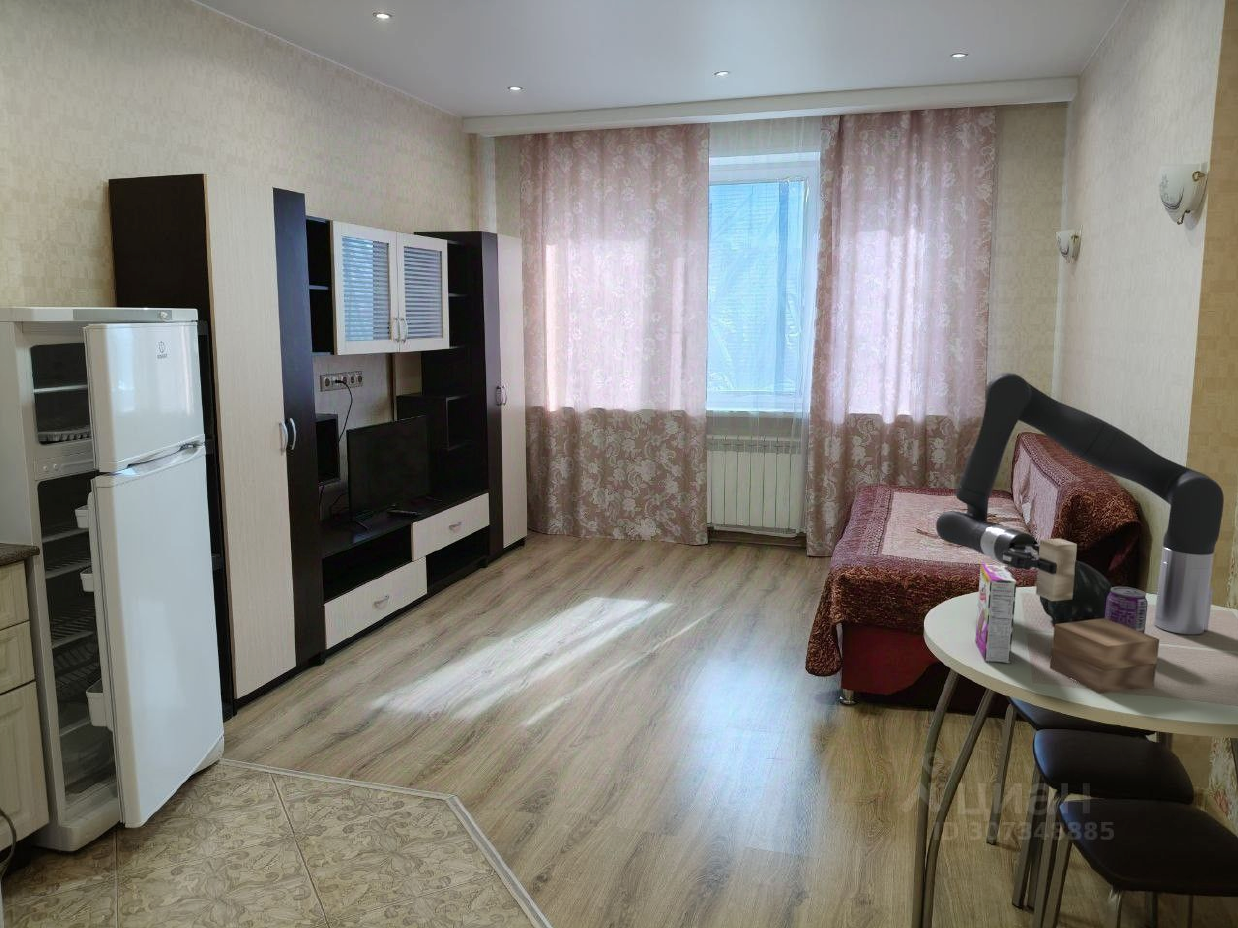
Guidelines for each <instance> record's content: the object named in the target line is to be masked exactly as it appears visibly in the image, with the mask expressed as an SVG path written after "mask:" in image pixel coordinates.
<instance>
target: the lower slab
mask: <svg viewBox="0 0 1238 928" xmlns="http://www.w3.org/2000/svg"><path fill="white" fill-rule="evenodd" d="M1049 664H1050V665H1049V669H1051V670H1053V671H1055V672H1056V673H1058V674H1060V673H1061V675H1062V674H1063V675H1062V676H1064V675H1065V676H1064V677H1066V676H1067V677H1066V678H1067V679H1070V678H1072V679H1074V680H1076V681H1077V682H1076V681H1075V682H1076V683H1078V682H1079V683H1080V685H1081V684H1082V685H1081V686H1083V685H1084V686H1083V687H1085V688H1087V689H1089V690H1091V691H1093V692H1095V693H1097V694H1105V693H1114V692H1124V691H1131V690H1139V689H1145V688H1146V689H1147V688H1154V687H1155V678H1156V668H1157V665H1156V664H1149V665H1142V666H1135V667H1128V668H1121V669H1115V670H1108V671H1104V670H1102V669H1099V668H1097V667H1095V666H1093V665H1091V664H1088V663H1086V662H1084V661H1082V660H1080V659H1077V658H1075V657H1073V656H1071V655H1069V654H1066V653H1064V652H1062V651H1060V650H1058V649H1055V648H1053V646H1051V651H1050V662H1049ZM1072 679H1071V680H1072ZM1074 680H1073V681H1074ZM1079 683H1078V684H1079Z"/></svg>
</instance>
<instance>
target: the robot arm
mask: <svg viewBox="0 0 1238 928" xmlns="http://www.w3.org/2000/svg"><path fill="white" fill-rule="evenodd" d="M984 396H985V397H984V398H985V405H984V413H983V417H982V422H981V425H980V429H979V432H978V435H977V438H976V440H975V443H974V445H973V448H972V450H971V452H970V453H969V456H968V458H967V461H966V463H965V466H964V468H963V471H962V475H961V477H960V479H959V483H958V485H957V488H956V492H955V497H956V498H957V500H958V501H960V502H961V503H963V504H966V505H967V509H966V510H967V511H966V513H965V512H960V511H955V510H949V511H946V512H943V513H942V514H941V515H940V516H939V517H937V520H936V524H935V529H936V532H937V534H938V536H939V537H940V539H942V540H943V541H945V542H946V543H948V544H949V543H950V544H953V545H956V546H961V547H963V548H964V547H965V548H968V549H971V550H974V551H975V552H978V553H980V554H982V555H983V556H984V555H985V556H987V557H989V558H990V559H992V560H994V561H997V562H999V563H1001V564H1002V565H1003V564H1004V565H1005V566H1008V567H1011V568H1014V569H1016V570H1020V569H1021V570H1026V571H1029V570H1031V569H1033V570H1036V571H1038V570H1043V571H1045V572H1048V573H1050V574H1056V572H1057V564H1056V563H1055V562H1052V561H1049V560H1047V559H1044V558H1041V557H1040V556H1039V548H1040V544H1038V542H1037V540H1036V538H1035V537H1034V536H1033V535H1031V534H1030V533H1026V532H1023V531H1022V530H1018V529H1015V528H1012V527H1009V526H1005V525H999V524H996V523H993V522H991V521H988V513H989V511H988V509H989V501H990V500H989V499H990V497H991V495H992V492H993V488H994V487H995V486H994V485H995V484H996V480H997V477H998V474H999V472H1000V471H999V470H1000V467H1001V464H1002V460H1003V457H1004V454H1005V450H1006V448H1007V445H1008V442H1009V440H1010V437H1011V435H1012V433H1013V432H1014V431H1013V430H1014V429H1015V427H1016V426H1017V423H1018V421H1019V422H1022V423H1023V424H1026V425H1028V426H1030V427H1033V428H1034V429H1036V430H1038V431H1040V432H1041V433H1042V434H1044V435H1045V436H1046V437H1048V438H1049V439H1050V440H1052V441H1053V442H1054V443H1056V444H1057V445H1058V446H1060V447H1062V448H1063V449H1065V451H1066V452H1069V453H1070V454H1072V455H1074V456H1075V457H1077V458H1079V459H1080V460H1083V462H1086V463H1088V465H1089V464H1090V465H1092V466H1093V467H1095V468H1097V469H1099V470H1102V471H1104V472H1106V473H1107V474H1108V473H1109V474H1112V475H1114V476H1115V477H1118V478H1119V477H1120V478H1122V479H1125V480H1129V481H1131V482H1133V483H1136V484H1137V485H1140V486H1142V487H1143V488H1145V489H1146V490H1148V491H1150V492H1152V493H1153V494H1154V495H1156V496H1158V497H1159V498H1160V499H1162V500H1163V501H1164V502H1166V503H1167V504H1169V505H1170V509H1169V516H1168V522H1167V523H1168V524H1167V528H1166V531H1165V533H1164V535H1163V541H1162V550H1161V551H1162V552H1161V560H1160V561H1161V562H1160V567H1159V568H1160V569H1159V574H1158V575H1159V576H1158V577H1159V578H1158V586H1157V594H1156V600H1155V601H1156V602H1155V609H1154V617H1153V618H1154V619H1153V624H1154V625H1155V626H1156V627H1157V628H1159V629H1161V630H1165V631H1168V632H1172V633H1175V634H1182V635H1200V634H1203V633H1204V632H1205V631H1208V630H1209V623H1210V615H1211V607H1212V599H1213V592H1214V587H1213V586H1212V585H1211V578H1212V571H1213V561H1214V554H1215V550H1216V549H1215V548H1216V545H1217V542H1218V539H1219V538H1220V529H1221V525H1222V519H1223V512H1224V504H1225V503H1224V500H1225V499H1224V497H1225V496H1224V492H1223V489H1222V488H1221V486H1220V485H1219V484H1218V483H1217V482H1216V480H1214V479H1213V478H1211V477H1210V476H1209V475H1207V474H1204V473H1202V472H1200V471H1197V470H1194V469H1192V468H1189V467H1187V466H1185V465H1181V464H1179V463H1177V462H1174V461H1172V460H1170V459H1168V458H1166V457H1164V456H1162V455H1160V454H1158V453H1156V452H1155V451H1153V450H1152V449H1150V448H1149V447H1148V446H1146V445H1145V444H1144V443H1142V442H1141V441H1139V440H1138V439H1136V438H1134V437H1133V436H1132V435H1130V434H1128V433H1126V432H1125V431H1124V430H1122V429H1120V428H1118V427H1116V426H1114V425H1113V424H1110V423H1108V422H1107V421H1104V420H1102V419H1101V418H1099V417H1096V416H1094V415H1092V414H1089V413H1088V412H1086V411H1082V410H1080V409H1078V408H1076V407H1072V406H1070V405H1067V404H1064V403H1062V402H1060V401H1058V400H1056V399H1054V398H1052V397H1050V396H1049V395H1047V394H1046V393H1044V392H1043V391H1041V390H1039V389H1038V388H1037V387H1035V386H1034V385H1032V384H1031V383H1029V382H1028V381H1027V380H1026V379H1025V378H1024V377H1022V376H1021V375H1019V374H1015V373H1013V372H1005V373H1000V374H997V375H996V376H995V377H993V378H992V379H990V381H989V382H988V384H986V387H985V391H984ZM1079 561H1080V560H1077V559H1076V561H1075V571H1074V572H1079V568H1080V562H1081V561H1080V562H1079ZM1204 630H1205V631H1204Z"/></svg>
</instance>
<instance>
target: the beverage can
mask: <svg viewBox="0 0 1238 928" xmlns="http://www.w3.org/2000/svg"><path fill="white" fill-rule="evenodd" d="M1146 596H1147V593H1146V591H1143V590H1141V589H1137V588H1133V587H1128V586H1114V587H1112V588H1111V592H1110V594H1109V595H1108V596H1107V603H1106V612H1105V618H1106V619H1108V620H1111V621H1113V622H1116V623H1119V624H1121V625H1124V626H1126V627H1129V628H1132V629H1134V630H1137V631H1139V632H1142V633H1144V634H1145V631H1146V621H1147V614H1148V613H1147V612H1148V605H1149V604H1148V599H1147V597H1146Z"/></svg>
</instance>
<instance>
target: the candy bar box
mask: <svg viewBox="0 0 1238 928" xmlns="http://www.w3.org/2000/svg"><path fill="white" fill-rule="evenodd" d="M979 571H980V573H979V583H978V584H979V585H978V596H977V597H978V598H977V615H976V626H975V638H974V639H975V640H974V642H975V644H976V646H977V648H978V650H979V652H980V654H981V656H982V659H983V661H984V662H986V663H995V664H996V663H997V664H1011V657H1012V656H1011V655H1012V654H1011V653H1012V643H1013V630H1014V617H1015V605H1016V594H1017V593H1016V591H1017V580H1016V579H1015V578H1014V576H1013V574H1012V573H1011V571H1009V569H1008V568H1007V565H1003V564H1002V565H1001V564H989V563H983V564H980V569H979Z"/></svg>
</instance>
